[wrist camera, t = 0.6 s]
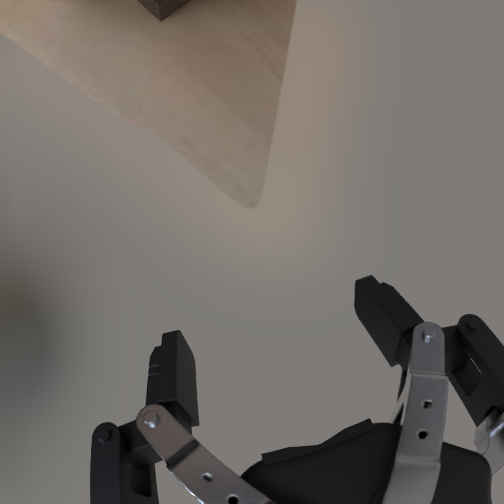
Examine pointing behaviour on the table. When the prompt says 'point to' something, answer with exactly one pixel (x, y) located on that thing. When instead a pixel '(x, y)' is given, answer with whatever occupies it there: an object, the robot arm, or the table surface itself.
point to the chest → (163, 7)
